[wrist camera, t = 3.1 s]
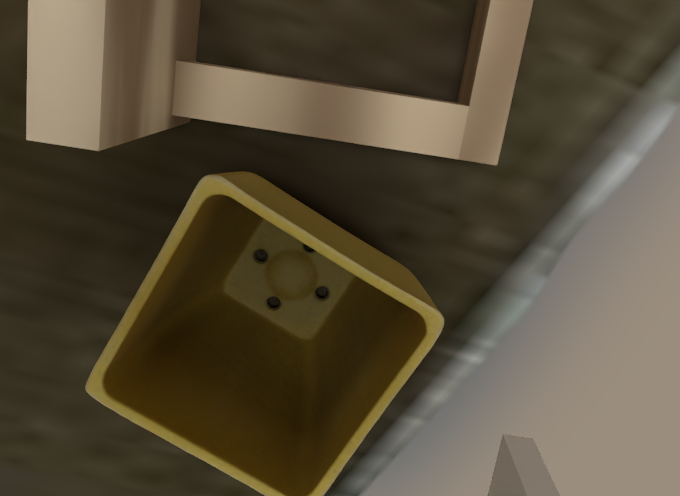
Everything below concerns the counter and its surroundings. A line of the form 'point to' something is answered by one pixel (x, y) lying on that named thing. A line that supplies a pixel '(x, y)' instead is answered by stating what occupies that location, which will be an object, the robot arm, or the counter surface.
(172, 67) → the board
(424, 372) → the counter surface
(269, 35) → the counter surface
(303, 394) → the flower pot
